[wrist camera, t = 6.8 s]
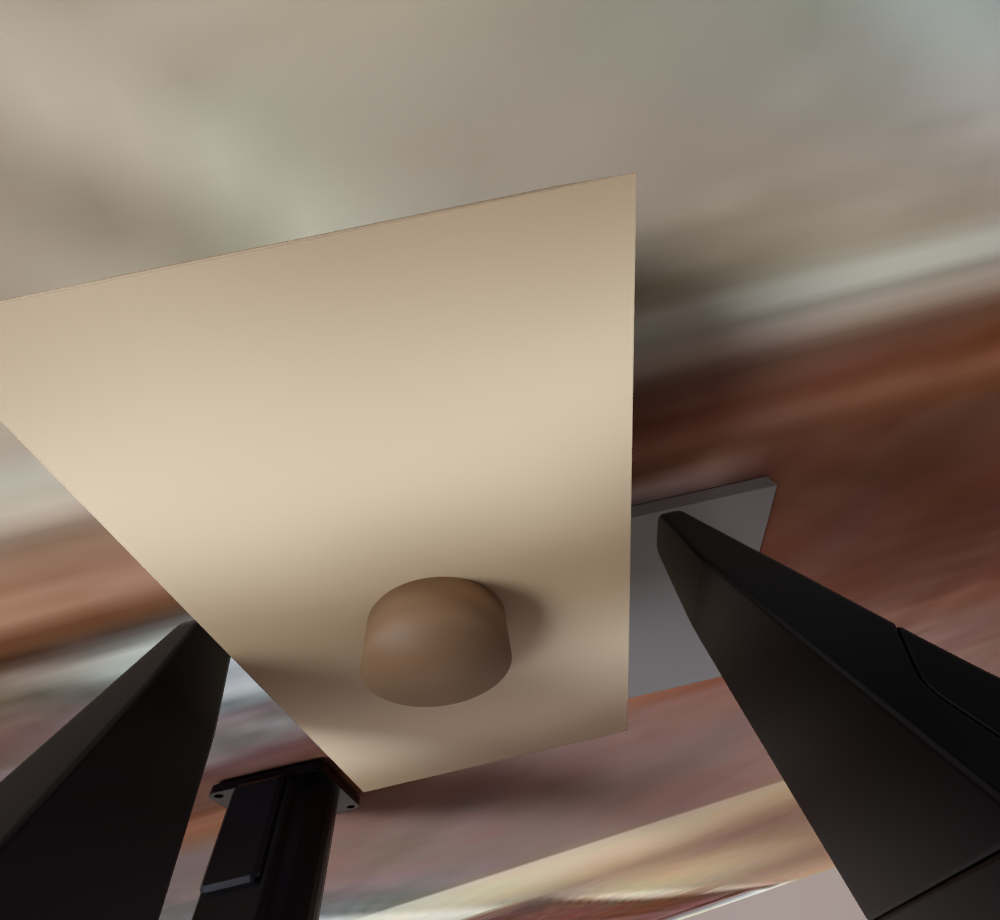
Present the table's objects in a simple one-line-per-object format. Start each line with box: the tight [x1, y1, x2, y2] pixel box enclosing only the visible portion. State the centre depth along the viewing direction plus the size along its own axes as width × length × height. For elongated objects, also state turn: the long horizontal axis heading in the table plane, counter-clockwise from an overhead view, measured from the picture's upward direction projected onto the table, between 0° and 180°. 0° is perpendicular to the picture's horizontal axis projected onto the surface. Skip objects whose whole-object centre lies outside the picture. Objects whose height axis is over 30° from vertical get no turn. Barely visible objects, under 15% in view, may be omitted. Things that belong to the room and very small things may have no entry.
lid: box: [0, 173, 636, 792], centre depth 8 cm, size 12×7×4 cm, turn 10°
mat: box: [628, 476, 777, 698], centre depth 19 cm, size 14×12×1 cm
